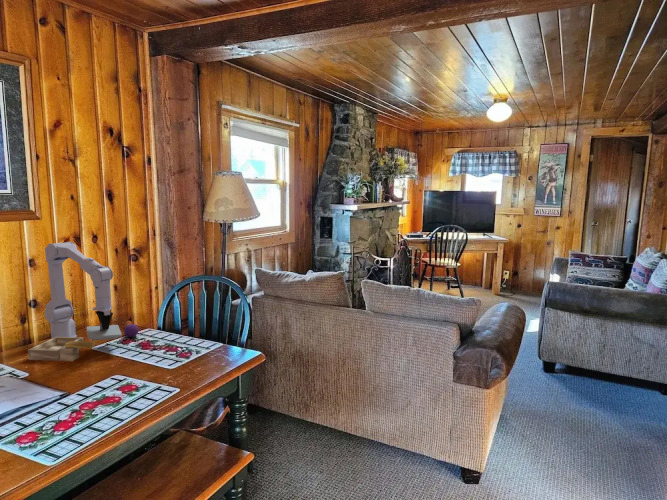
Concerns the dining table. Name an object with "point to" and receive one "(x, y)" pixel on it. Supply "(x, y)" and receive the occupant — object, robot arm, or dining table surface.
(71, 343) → the yellow rectangular block
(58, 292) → the robot arm
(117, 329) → the lid
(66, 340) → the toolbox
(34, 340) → the dining table surface
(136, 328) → the kendama
